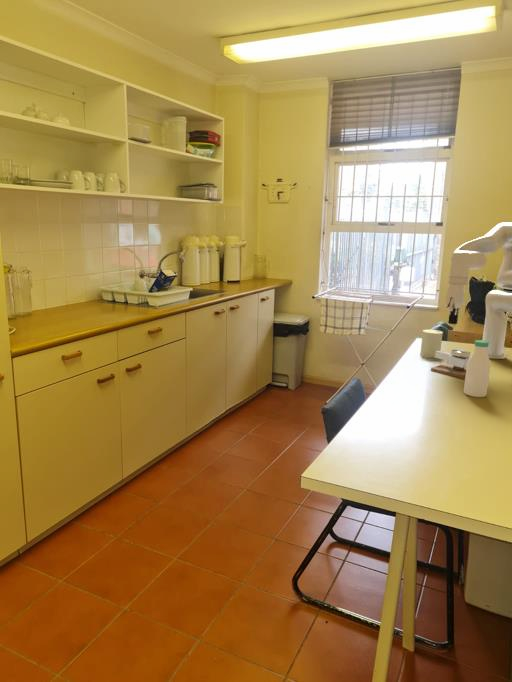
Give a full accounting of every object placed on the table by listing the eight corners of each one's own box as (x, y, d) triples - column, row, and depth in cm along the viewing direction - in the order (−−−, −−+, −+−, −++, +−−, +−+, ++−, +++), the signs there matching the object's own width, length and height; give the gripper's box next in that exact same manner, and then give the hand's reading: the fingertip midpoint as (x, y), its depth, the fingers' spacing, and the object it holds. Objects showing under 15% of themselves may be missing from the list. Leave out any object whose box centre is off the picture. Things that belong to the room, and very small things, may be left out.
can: (443, 357, 237) (446, 332, 234) (423, 357, 237) (426, 332, 234) (436, 352, 246) (439, 328, 243) (417, 352, 246) (420, 328, 243)
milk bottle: (488, 398, 181) (496, 344, 177) (465, 396, 182) (472, 342, 178) (483, 392, 188) (490, 339, 184) (461, 390, 190) (468, 338, 185)
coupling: (440, 357, 224) (441, 344, 222) (471, 365, 213) (473, 351, 212) (431, 360, 219) (432, 346, 218) (462, 367, 208) (464, 354, 207)
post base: (450, 364, 225) (452, 349, 223) (485, 373, 213) (488, 357, 212) (430, 370, 215) (432, 354, 213) (466, 379, 203) (468, 363, 201)
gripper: (454, 279, 222) (449, 320, 226) (443, 281, 211) (437, 324, 215) (472, 281, 218) (466, 323, 222) (461, 283, 206) (455, 327, 210)
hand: (452, 323), depth 218 cm, fingers closed
